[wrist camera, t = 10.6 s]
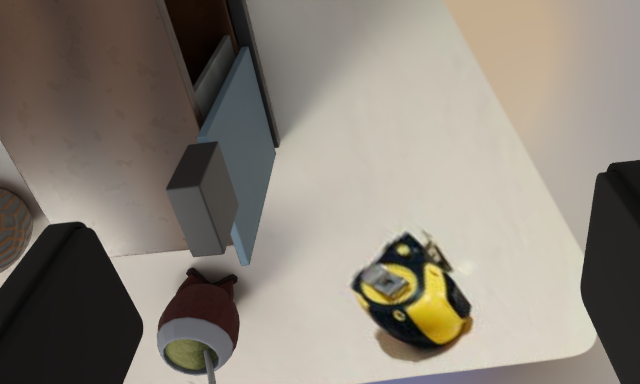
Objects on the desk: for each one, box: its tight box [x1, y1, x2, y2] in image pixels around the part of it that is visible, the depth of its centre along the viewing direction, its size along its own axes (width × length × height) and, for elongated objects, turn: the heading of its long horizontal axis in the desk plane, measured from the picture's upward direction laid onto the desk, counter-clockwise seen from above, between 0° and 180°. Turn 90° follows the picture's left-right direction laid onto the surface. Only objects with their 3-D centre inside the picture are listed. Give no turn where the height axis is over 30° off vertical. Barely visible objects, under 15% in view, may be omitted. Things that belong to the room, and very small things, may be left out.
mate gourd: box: [157, 268, 240, 384], centre depth 45 cm, size 8×8×15 cm
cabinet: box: [0, 0, 280, 257], centre depth 32 cm, size 12×18×12 cm
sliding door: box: [166, 46, 276, 266], centre depth 32 cm, size 2×9×16 cm, turn 10°
